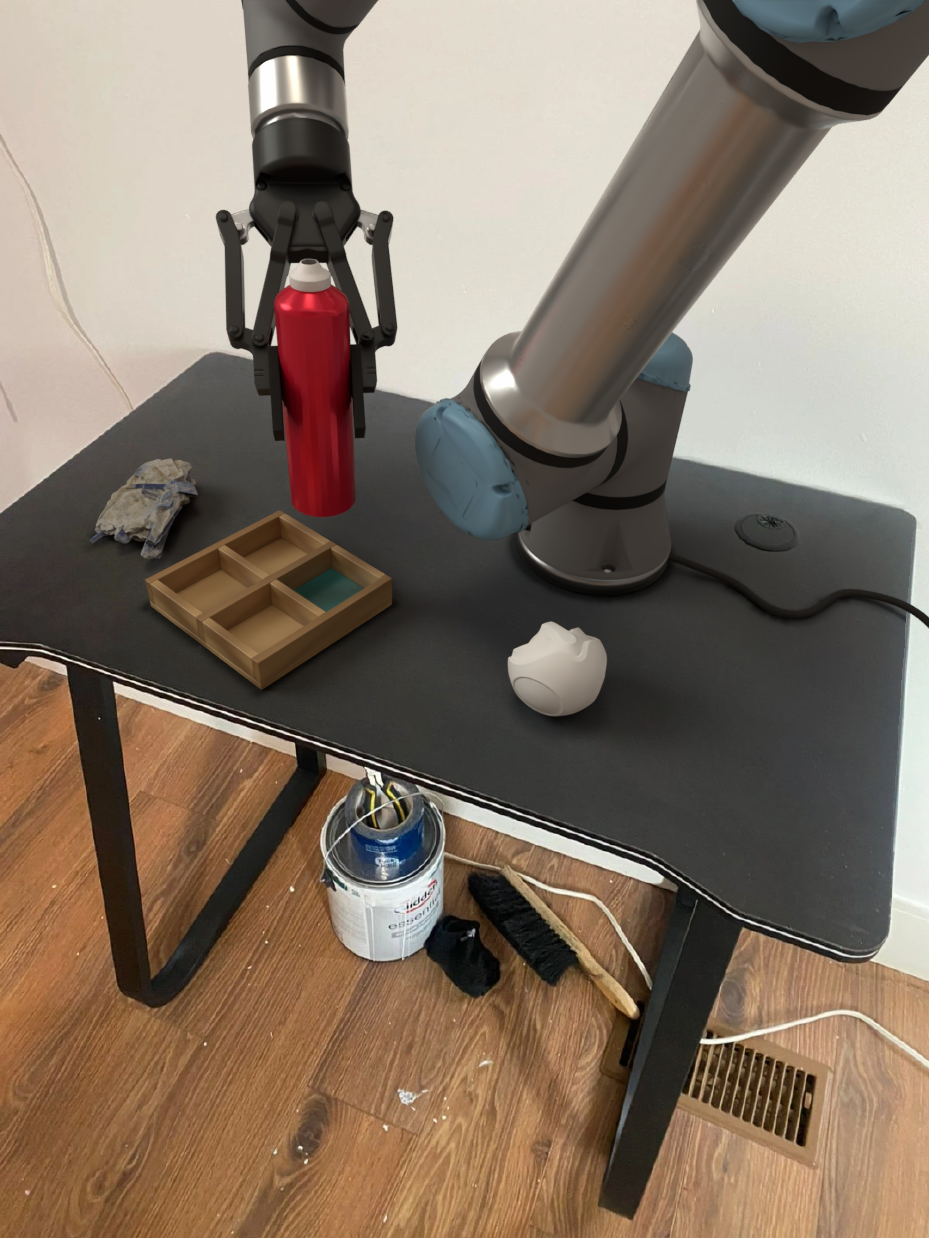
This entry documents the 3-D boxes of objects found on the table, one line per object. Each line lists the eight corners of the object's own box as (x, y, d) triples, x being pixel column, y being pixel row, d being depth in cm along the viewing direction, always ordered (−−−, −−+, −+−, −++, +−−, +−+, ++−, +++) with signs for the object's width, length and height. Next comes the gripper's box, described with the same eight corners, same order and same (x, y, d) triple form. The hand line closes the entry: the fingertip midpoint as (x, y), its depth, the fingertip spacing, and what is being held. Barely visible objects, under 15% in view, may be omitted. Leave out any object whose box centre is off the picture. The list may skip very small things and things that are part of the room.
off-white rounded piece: (569, 659, 80) (581, 590, 75) (618, 717, 75) (634, 648, 70) (489, 686, 77) (495, 616, 72) (534, 748, 72) (545, 678, 67)
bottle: (341, 476, 81) (331, 244, 68) (365, 508, 77) (359, 270, 64) (281, 490, 79) (259, 253, 66) (304, 523, 75) (285, 280, 62)
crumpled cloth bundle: (146, 477, 99) (139, 443, 96) (219, 489, 98) (214, 455, 95) (74, 557, 88) (64, 521, 85) (156, 571, 87) (149, 535, 84)
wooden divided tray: (392, 604, 85) (392, 578, 83) (261, 690, 76) (258, 663, 74) (282, 535, 92) (279, 509, 90) (150, 606, 83) (144, 579, 81)
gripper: (414, 169, 76) (434, 443, 75) (186, 167, 74) (202, 451, 72) (423, 114, 69) (445, 416, 68) (169, 109, 66) (187, 424, 65)
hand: (319, 434), depth 70 cm, fingers closed on bottle, 5 cm apart
